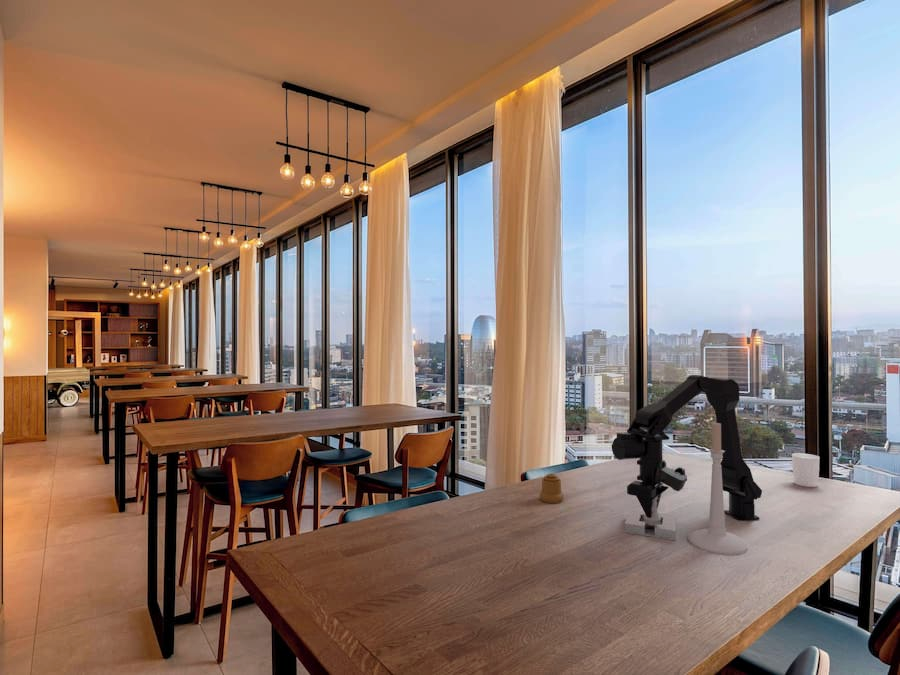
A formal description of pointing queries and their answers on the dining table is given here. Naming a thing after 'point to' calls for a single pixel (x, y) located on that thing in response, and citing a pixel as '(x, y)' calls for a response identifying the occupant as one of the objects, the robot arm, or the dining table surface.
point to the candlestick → (717, 510)
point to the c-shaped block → (662, 530)
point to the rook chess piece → (653, 515)
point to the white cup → (805, 469)
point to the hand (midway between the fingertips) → (651, 515)
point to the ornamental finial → (551, 489)
